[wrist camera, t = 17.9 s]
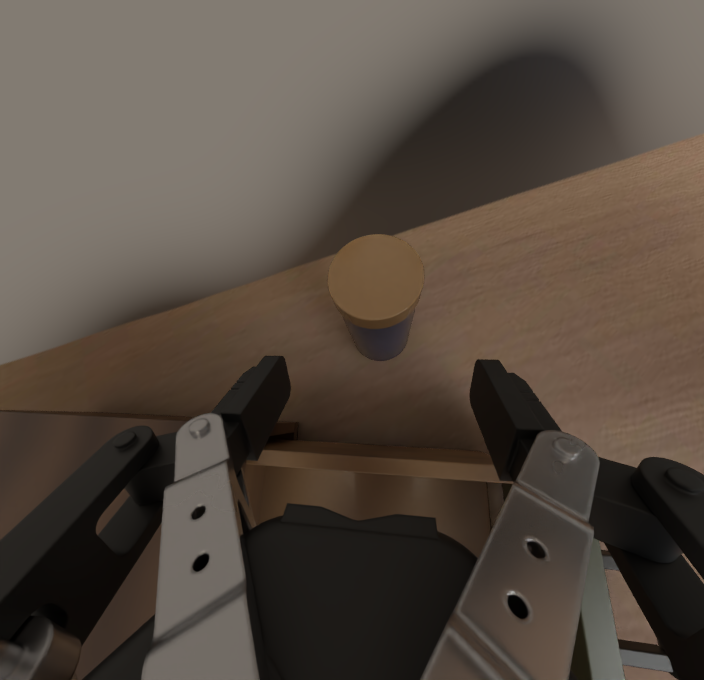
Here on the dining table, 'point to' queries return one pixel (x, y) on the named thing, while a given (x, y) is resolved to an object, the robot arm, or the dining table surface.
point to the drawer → (438, 502)
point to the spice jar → (377, 292)
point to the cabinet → (57, 465)
